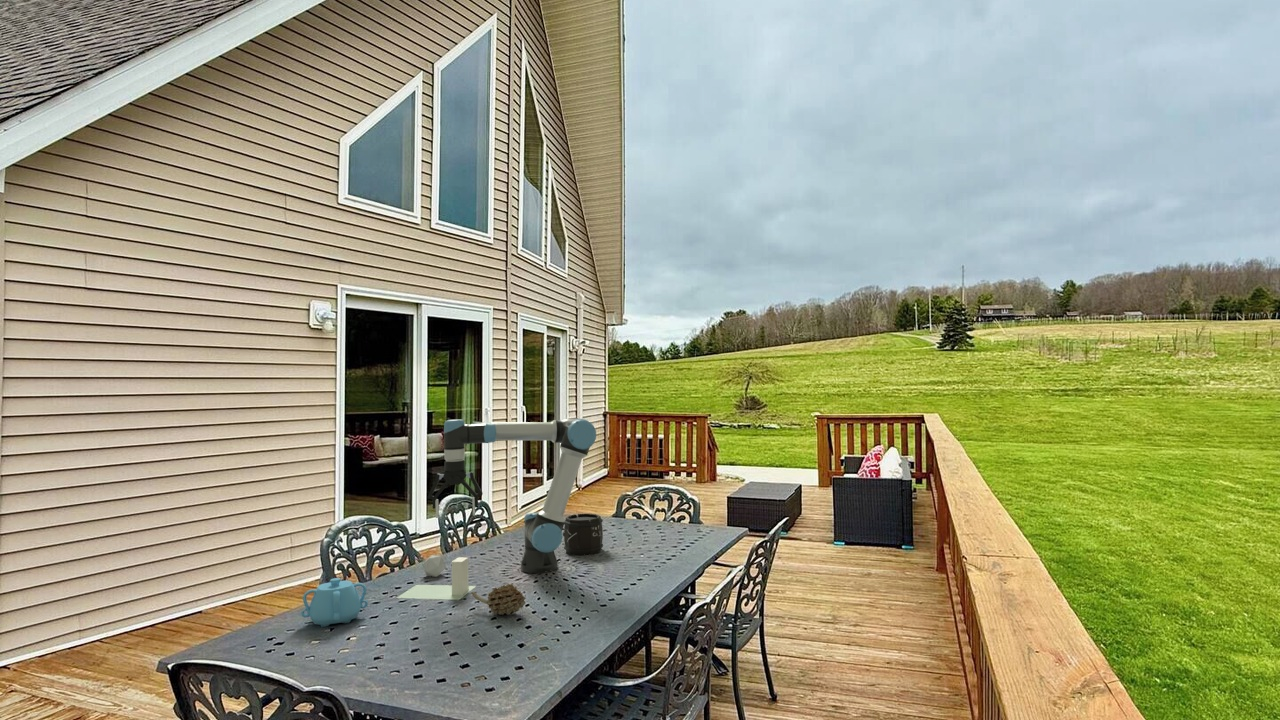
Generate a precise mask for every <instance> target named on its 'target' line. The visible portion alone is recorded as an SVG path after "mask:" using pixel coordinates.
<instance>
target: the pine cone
mask: <svg viewBox="0 0 1280 720" xmlns="http://www.w3.org/2000/svg"><path fill="white" fill-rule="evenodd" d="M471 595H472V597H473V598H474V599H476V600H477V601H479V602H481V603H483V604H486V605H487V606H488V609H490V612H491V613H492V614H493V615H495V614H499V615H502V616H503V615H505V614H506V615H508V616H509V615H510V614H512V612H513V613H517V612H519V611H520V609H521V608H522V609H523V607H524V606H525V604H526V601H525V599H526V596H524V595H523V592H522V591H521V590H519V589H518V588H517V586H514V585H513V584H510V583H507V584H506V585H505V584H503V585H501V586H500V587H495V588H494V589H492V591H491V592H489V593H488V596H487V599H485V598H483V597H481V596H479V594H477V593H476V592H475V591H472V592H471Z"/></svg>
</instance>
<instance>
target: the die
mask: <svg viewBox="0 0 1280 720" xmlns="http://www.w3.org/2000/svg"><path fill="white" fill-rule="evenodd" d="M421 565H422V568H423V571H424V573H425V575H426V577H431V576H432V577H435V578H437V577H439V576H440V575H441V574H442V573H443V572H444V571H445V570H446V568H447V567H446V563H445V561H444V559H443V557H442V555H433V554H431V555H429V557H427V559H426V560H425V561H424V562H423V563H422V564H421Z"/></svg>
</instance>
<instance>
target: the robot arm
mask: <svg viewBox="0 0 1280 720" xmlns="http://www.w3.org/2000/svg"><path fill="white" fill-rule="evenodd" d="M595 427H596V426H594V425H593V423H592V422H591V421H589V420H588V419H585V418H577V417H572V418H565V419H553V420H552V421H550V422H549V421H548V422H547V421H545V422H543V421H542V422H541V421H540V422H538V421H537V422H535V421H533V422H531V421H530V422H528V421H526V422H524V421H521V422H519V421H518V422H517V421H516V422H509V421H507V422H505V421H504V422H503V421H501V422H500V421H491V422H488V421H487V422H485V421H482V422H481V421H474V422H472V423H471V424H469V423H468V424H467V423H465V421H464V419H448V420H446V421H444V424H443V441H444V442H443V444H444V445H443V449H444V450H443V452H444V454H443V455H444V460H445V461H444V473H440V472H439V473H436V475H435V480H434V482H433V485H432V487H431V488H430V491H429V493H428V495H427V499H428V500H431V501H432V509H434V510H435V518H436V519H437V518H439V511H440V510H439V507H440V506H439V499H438V497H439V496H440V495H441V493H442V492H443V491H444V490H445V489H446V487H447V486H448V485H450V486H454V485H457V486H458V485H461V484H462V486H463V487H464V488H465V489H466V490H467V491H468V492H469V494H471V495H472V496H473V497H472V516H476V507H479V506H478V505H479V497H481V496H483V494H484V493H483V491H482V490H481V487H480V486H479V484H478V482H477V480H476V478H475V473H474V472H473V471H470V472H466V461H465V460H464V459H465V457H466V454H465V449H466V448H465V445H466V444H467V445H469V444H489V443H490V444H491V443H494V442H496V441H499V442H500V441H507V442H508V441H509V442H510V441H511V442H512V441H551V442H552V443H553V444H556V443H557V444H560V446H559V448H560V450H561V453H560V457H559V460H558V462H557V465H556V469H555V472H554V474H553V478H552V481H551V483H550V487H549V489H548V492H547V496H546V498H545V502H544V504H543V507H542V509H541V510H539V511H538V512H530V513H529V512H528V513H526V514H525V515H524V520H523V524H524V552H523V556H522V559H521V562H520V571H521V572H524V573H529V574H543V573H549V572H552V571H554V570H555V571H556V570H557V569H558V560H557V556H556V554H555V550H558V548H559V547H560V546H561V544H562V541H563V530H564V527H565V524H564V523H565V520H566V519H565V518H564V515H565V511H566V509H567V505H568V502H569V499H570V496H571V493H572V490H573V487H574V484H575V481H576V479H577V475H578V472H579V469H580V467H581V463H582V461H583V459H584V458H585V457H587V456H588V454H589V452H590V448H591V447H592V446H594V444H595V442H596V439H597V429H596V428H595ZM467 477H468V479H470V481H471V483H472V484H473V486H474V488H475V489H476V491H475V489H473V487H471V485H470V484H468V482H467V481H466V480H465V479H466V478H467ZM442 478H443V479H444V480H445V482H444V483H443V484H442V486H441V487H440V488H439V490H437V492H436V493H435V495H433V494H434V492H435V490H436V489H437V486H438V485H439V482H440V480H442Z"/></svg>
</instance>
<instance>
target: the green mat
mask: <svg viewBox="0 0 1280 720" xmlns="http://www.w3.org/2000/svg"><path fill="white" fill-rule="evenodd" d="M476 587H477V585H469V590H468V591H467V592H466V593H464V594H463V595H452V584H450V585H446V584H444V585H443V584H416V585H414V586H412V587H411V588H409V589H407V591H405V592H403V593H402V594H400V595H398V596H396V598H395V599H397V600H398V599H416V600H417V599H418V600H419V599H420V600H455V601H457V600H461V599H463V598H464V597H465V596H466V595H467V594H468V593H470V592H471V591H473V590H474V589H475V588H476Z"/></svg>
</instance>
